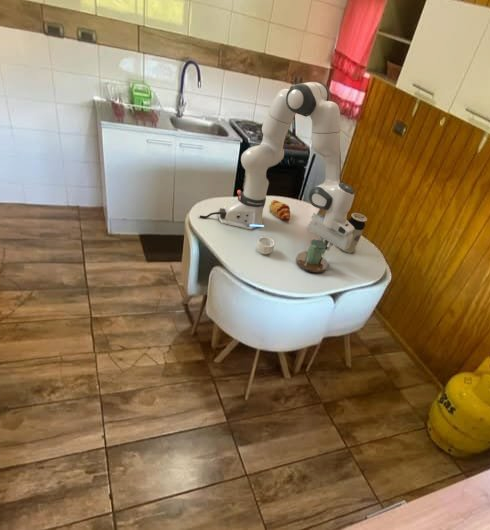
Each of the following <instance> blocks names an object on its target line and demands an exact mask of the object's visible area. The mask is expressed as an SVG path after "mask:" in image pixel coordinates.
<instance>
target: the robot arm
mask: <svg viewBox="0 0 490 530" xmlns="http://www.w3.org/2000/svg"><path fill="white" fill-rule="evenodd" d="M330 98H331V93H330V89H329V87H328V86H327V85H326V84H325V83H323V82H320V81H307V82H303V83H302V82H301V83H297V84H294V85H293V86H291V87H290V88H282V89H280V90H279V91H278V92H277V93H276V95H275V97H274V98H273V100H272V102H271V104H270V106H269V108H268V111H267V114H266V116H265V118H264V121H263V124H262V126H261V132H262V140H261V142H260V144H257V145H254V146H251V147H249V148H247V149H246V150H244V151H243V152H242V153H241V156H240V162H241V166H242V168H243V169H244V170H245V182H244V186H243V187H244V188H243V191H242V190H241V189H238V190H237V195H238V196H237V197H236V198H235V199H232V200H230V201H227V203H226V204H225V206H224V207H223V208H221V207H220V208H219V211H214V212H211V213H209V214H207V215H199V218H200V219H201V218H202V219H207V218H209V217H211V216H214V215H218V220H219V221H220V222H221V223H222V224H224V225H228V226H233V227H237V228H242V229H246V230H253V229H255V228H258V227H261V228H264V227H265V225H264V224H263V214H264V213H263V212H264V208H265V205H266V201H267V197H266V196H267V192H268V189H269V185H270V182H269V181H270V180H269V179H268V178H267V171H268V169H270V168H271V167H274V166H277V165H278V164H279V163H280V162H282V160H283V159H284V157H285V149H284V144H285V140H286V137H287V135H288V133H289V132H288V131H289V130H290V127H291V125H292V123H293V121H294V118H295V117H296V114H297V115H300V116H303V117H309V118H310V119H311V137H310V138H311V139H310V140H311V146H312V149H313V150H314V152H316V153H317V154H318V155H320V156H322V157H323V158H324V161H325V180H324V181H323V182H322V183H321V184H318V185H316V186H314V187H312V188H311V189H310V191H309V193H308V200H309V203H310V204H311V206H312V207H314V208H316V209H322V210H326V214H325V216H323V215H321V214H320V213H317V212H313V214H312V215H311V220H310V222H309V224H308V227H307V231H309V232H310V233H312V234H314V235H316V236H318V240H320V241H322V242H324V241H325V240H326V241H328V242H329V244H328V245H327V246H326V248H325V249H326V250H325V251H330V250H331V247H333V246H335V247H337V248H339V249H340V248H341V249H343V250H346V249H348V248H349V247H350V245H351V242H352V238H353V234H352V232H353V231H354V229H355V228H354V227H353V226H352V225H351V224H350V223H349V222H348V220H347V218H348V213H349V212H350V210H351V209H352V206H353V202H354V199H355V190H354V188H353V187H352V186H351V185H350V184H347V183H343V181H342V175H341V174H342V157H341V146H340V140H341V112H340V106H339V105H338V104H337V103H336V102H334V101H331V100H330ZM341 249H340V250H341Z"/></svg>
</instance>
